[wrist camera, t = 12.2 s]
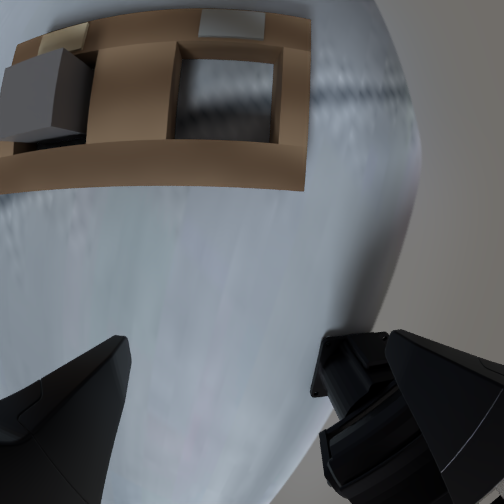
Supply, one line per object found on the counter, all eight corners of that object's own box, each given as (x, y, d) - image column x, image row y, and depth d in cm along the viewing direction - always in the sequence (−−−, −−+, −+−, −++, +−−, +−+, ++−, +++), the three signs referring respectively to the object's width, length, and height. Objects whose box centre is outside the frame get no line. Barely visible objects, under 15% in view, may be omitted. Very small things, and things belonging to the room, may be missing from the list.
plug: (96, 136, 16) (51, 126, 10) (46, 144, 15) (-6, 140, 10) (102, 76, 15) (63, 47, 9) (51, 87, 14) (5, 68, 8)
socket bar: (290, 188, 18) (305, 192, 15) (21, 190, 16) (-5, 195, 13) (297, 37, 15) (312, 17, 12) (36, 55, 13) (15, 43, 10)
